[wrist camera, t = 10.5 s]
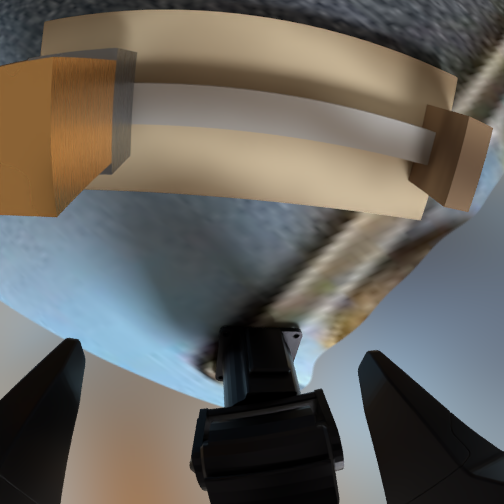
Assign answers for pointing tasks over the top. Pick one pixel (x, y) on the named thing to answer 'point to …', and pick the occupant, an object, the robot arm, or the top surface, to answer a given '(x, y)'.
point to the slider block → (62, 126)
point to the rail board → (263, 70)
